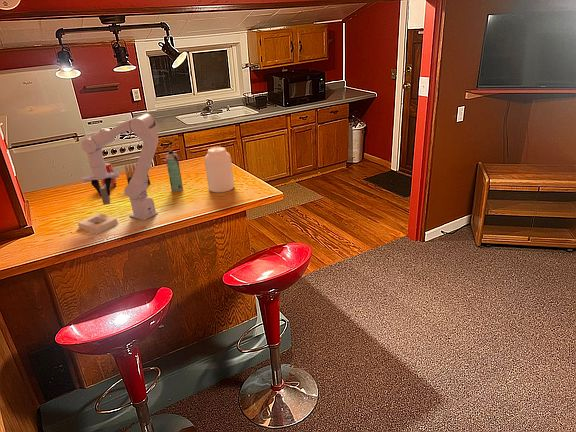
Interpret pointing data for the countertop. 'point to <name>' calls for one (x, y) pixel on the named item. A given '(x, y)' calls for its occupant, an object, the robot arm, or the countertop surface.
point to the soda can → (109, 170)
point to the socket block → (97, 228)
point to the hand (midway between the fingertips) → (105, 195)
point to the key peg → (104, 194)
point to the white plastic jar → (219, 170)
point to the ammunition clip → (132, 173)
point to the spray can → (174, 171)
